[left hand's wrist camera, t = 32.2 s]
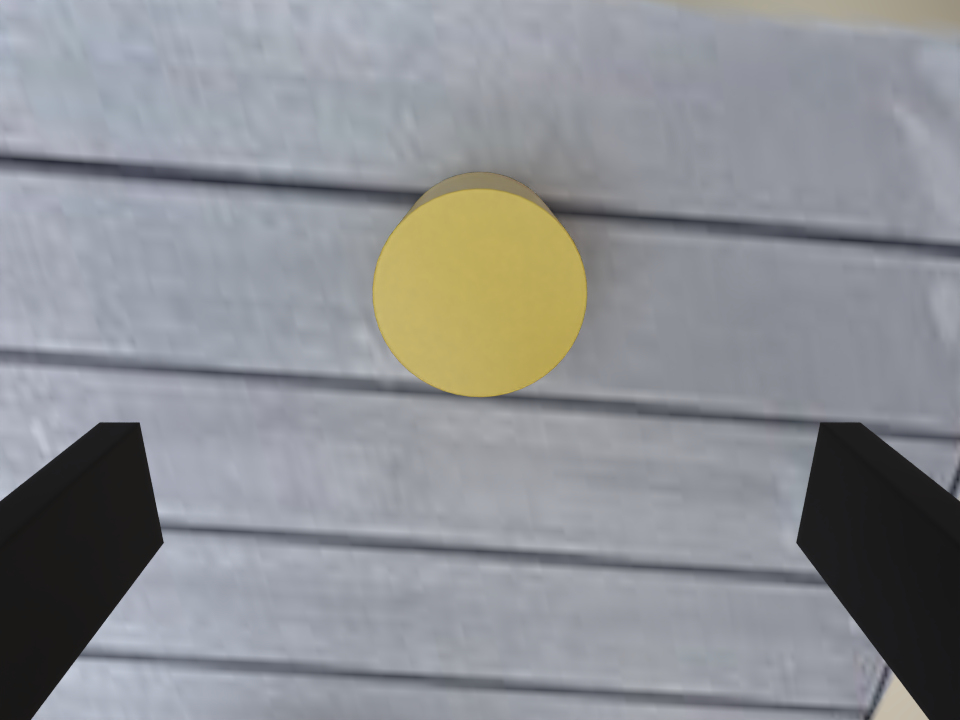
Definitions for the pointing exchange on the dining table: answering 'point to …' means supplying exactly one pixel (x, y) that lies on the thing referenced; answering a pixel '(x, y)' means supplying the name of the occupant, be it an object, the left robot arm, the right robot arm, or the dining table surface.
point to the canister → (479, 287)
